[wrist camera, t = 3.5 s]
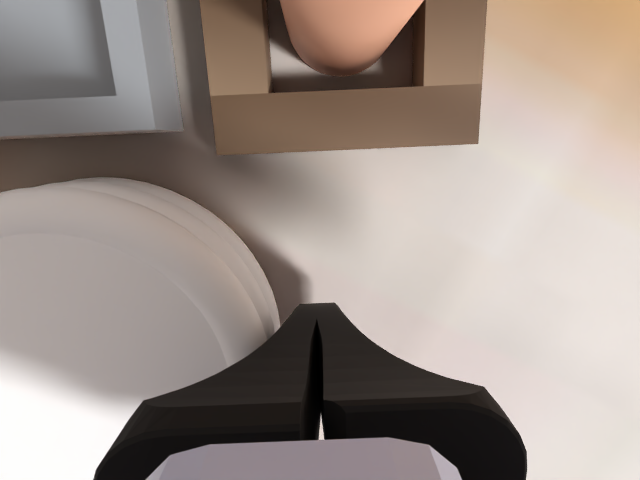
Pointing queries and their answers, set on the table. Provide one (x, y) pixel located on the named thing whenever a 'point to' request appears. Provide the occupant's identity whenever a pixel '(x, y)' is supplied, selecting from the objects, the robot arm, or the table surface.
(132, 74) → the tray
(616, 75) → the table surface
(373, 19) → the dowel
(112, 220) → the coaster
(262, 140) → the collar
